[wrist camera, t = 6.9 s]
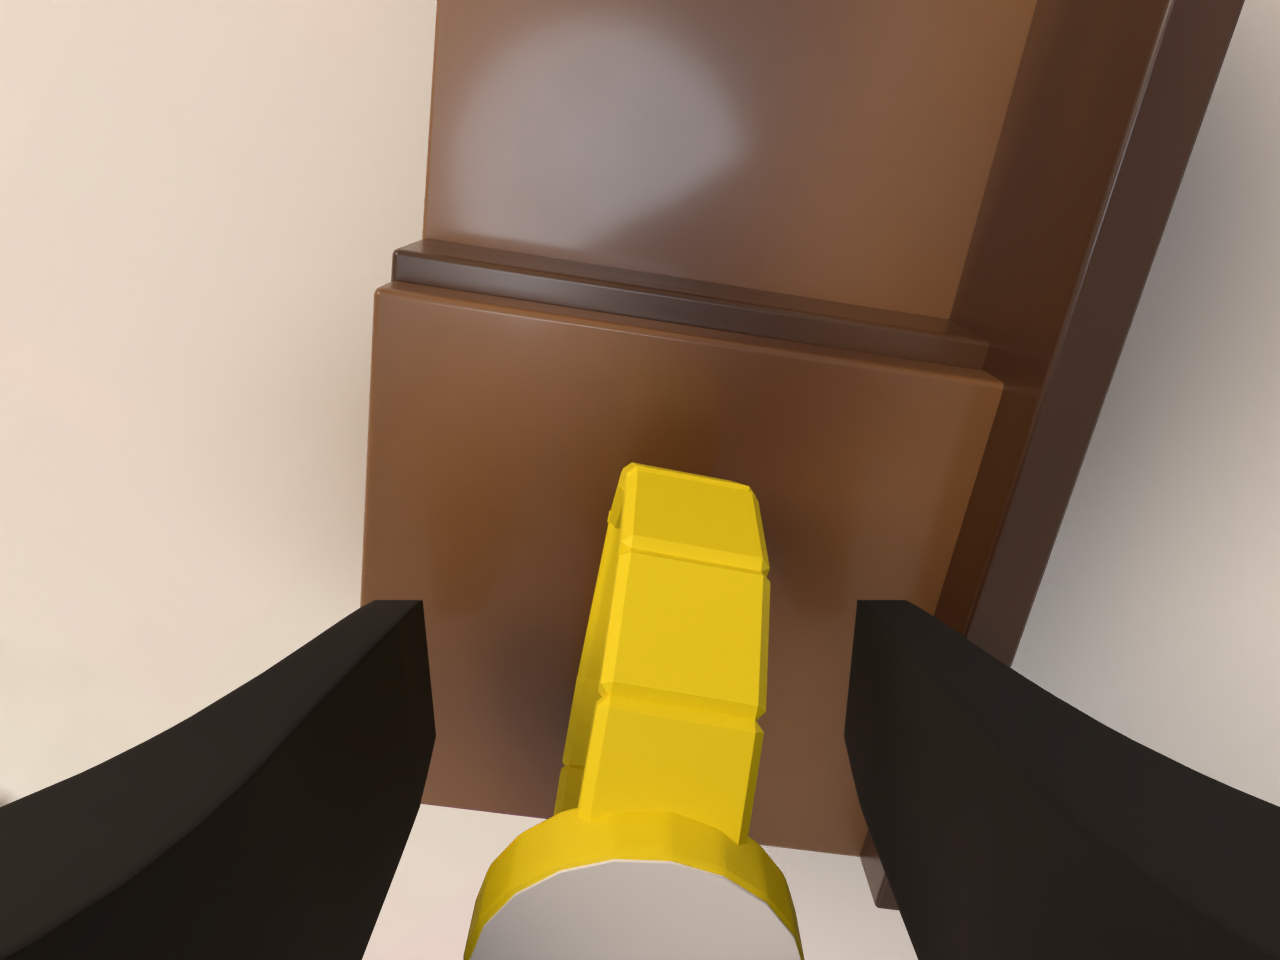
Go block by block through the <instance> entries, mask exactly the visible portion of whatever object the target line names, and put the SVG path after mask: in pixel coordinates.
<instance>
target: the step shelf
mask: <svg viewBox="0 0 1280 960" xmlns="http://www.w3.org/2000/svg"><path fill="white" fill-rule="evenodd" d="M1244 1H1245V0H437V11H436V28H435V44H434V60H433V76H432V92H431V108H430V124H429V140H428V156H427V172H426V189H425V205H424V221H423V237H422V240H420V241H417V242H415V243H412V244H409V245H407V246H404V247H401V248H399V249H396V250H394V252H393V256H392V275H391V282H389V283H387V284H385V285H383V286H381V287H379V288H377V289H376V291H375V293H374V309H373V331H372V354H371V376H370V399H369V422H368V444H367V467H366V489H365V512H364V535H363V557H362V580H361V602H360V608H361V607H363V606H364V605H366V604H368V603H370V602H372V601H374V600H423V607H424V617H425V628H426V638H427V648H428V658H429V668H430V678H431V688H432V698H433V709H434V719H435V729H436V739H435V744H434V748H433V753H432V757H431V762H430V766H429V771H428V775H427V779H426V783H425V787H424V791H423V796H422V800H421V804H428V805H436V806H444V807H452V808H461V809H469V810H477V811H486V812H494V813H502V814H510V815H519V816H527V817H535V818H543V819H549V818H551V817H553V816H554V809H555V803H556V797H557V790H558V784H559V778H560V772H561V768H563V767H564V766H565V765H564V764H563V762H562V760H563V754H564V748H565V742H566V737H567V731H568V725H569V719H570V714H571V708H572V702H573V697H574V691H575V685H576V679H577V675H578V670H579V665H580V661H581V656H582V651H583V646H584V641H585V636H586V631H587V626H588V621H589V616H590V611H591V607H592V602H593V597H594V592H595V587H596V582H597V577H598V572H599V567H600V562H601V557H602V553H603V548H604V543H605V538H606V533H607V528H608V523H609V522H607V521H608V515H609V510H611V507H612V504H613V500H614V497H615V493H616V489H617V486H618V482H619V479H620V475H621V472H622V470H623V468H624V467H626V466H627V465H629V464H630V463H632V462H633V463H638V464H643V465H649V466H654V467H660V468H665V469H670V470H676V471H681V472H687V473H692V474H697V475H703V476H708V477H713V478H719V479H724V480H730V481H733V482H737V483H740V484H743V485H747V486H749V487H750V488H751V490H752V491H753V493H754V494H755V496H756V499H757V500H758V502H759V508H760V514H761V520H762V526H763V531H764V537H765V543H766V549H767V555H768V560H769V566H770V569H769V572H768V575H767V579H768V580H769V581H770V610H769V640H768V669H767V698H766V712H765V713H764V714H763V716H762V717H761V718H760V719H759V720H757V721H756V722H757V723H758V725H759V726H760V727H761V729H762V730H763V732H764V736H763V743H762V749H761V756H760V762H759V769H758V775H757V782H756V788H755V795H754V802H753V808H752V815H751V821H750V828H749V834H748V836H749V837H750V838H752V839H753V840H755V841H756V842H757V843H758V844H759V845H766V846H775V847H783V848H791V849H799V850H808V851H816V852H824V853H832V854H841V855H849V856H857V857H860V859H861V862H862V865H863V868H864V871H865V874H866V878H867V881H868V884H869V887H870V890H871V893H872V897H873V900H874V903H875V905H876V907H878V908H884V909H892V910H899V908H898V905H897V903H896V900H895V898H894V895H893V892H892V890H891V887H890V885H889V882H888V879H887V877H886V874H885V872H884V869H883V866H882V864H881V861H880V858H879V856H878V853H877V850H876V848H875V845H874V843H873V840H872V837H871V835H870V832H869V829H868V827H867V824H866V821H865V818H864V816H863V813H862V810H861V807H860V804H859V799H858V795H857V791H856V787H855V783H854V779H853V775H852V771H851V766H850V762H849V757H848V753H847V748H846V744H845V739H844V729H845V719H846V709H847V699H848V688H849V678H850V668H851V658H852V648H853V638H854V628H855V618H856V608H857V600H907V601H909V602H911V603H913V604H914V605H916V606H918V607H920V608H921V609H923V610H924V611H926V612H928V613H929V614H931V615H932V616H934V617H935V618H937V619H938V620H940V621H941V622H943V623H944V624H946V625H947V626H949V627H950V628H952V629H953V630H955V631H956V632H958V633H959V634H961V635H962V636H963V637H965V638H966V639H968V640H969V641H971V642H972V643H974V644H975V645H977V646H978V647H980V648H981V649H983V650H984V651H986V652H987V653H989V654H990V655H992V656H993V657H995V658H996V659H998V660H999V661H1001V662H1002V663H1004V664H1005V665H1007V666H1008V667H1010V668H1011V665H1012V662H1013V659H1014V657H1015V654H1016V651H1017V648H1018V645H1019V642H1020V639H1021V637H1022V634H1023V631H1024V628H1025V625H1026V622H1027V620H1028V617H1029V614H1030V611H1031V608H1032V605H1033V602H1034V600H1035V597H1036V594H1037V591H1038V588H1039V585H1040V582H1041V580H1042V577H1043V574H1044V571H1045V568H1046V565H1047V562H1048V560H1049V557H1050V554H1051V551H1052V548H1053V545H1054V543H1055V540H1056V537H1057V534H1058V531H1059V528H1060V525H1061V523H1062V520H1063V517H1064V514H1065V511H1066V508H1067V505H1068V503H1069V500H1070V497H1071V494H1072V491H1073V488H1074V486H1075V483H1076V480H1077V477H1078V474H1079V471H1080V468H1081V466H1082V463H1083V460H1084V457H1085V454H1086V451H1087V448H1088V446H1089V443H1090V440H1091V437H1092V434H1093V431H1094V429H1095V426H1096V423H1097V420H1098V417H1099V414H1100V411H1101V409H1102V406H1103V403H1104V400H1105V397H1106V394H1107V391H1108V389H1109V386H1110V383H1111V380H1112V377H1113V374H1114V371H1115V369H1116V366H1117V363H1118V360H1119V357H1120V354H1121V352H1122V349H1123V346H1124V343H1125V340H1126V337H1127V334H1128V332H1129V329H1130V326H1131V323H1132V320H1133V317H1134V314H1135V312H1136V309H1137V306H1138V303H1139V300H1140V297H1141V295H1142V292H1143V289H1144V286H1145V283H1146V280H1147V277H1148V275H1149V272H1150V269H1151V266H1152V263H1153V260H1154V257H1155V255H1156V252H1157V249H1158V246H1159V243H1160V240H1161V237H1162V235H1163V232H1164V229H1165V226H1166V223H1167V220H1168V218H1169V215H1170V212H1171V209H1172V206H1173V203H1174V200H1175V198H1176V195H1177V192H1178V189H1179V186H1180V183H1181V180H1182V178H1183V175H1184V172H1185V169H1186V166H1187V163H1188V161H1189V158H1190V155H1191V152H1192V149H1193V146H1194V143H1195V141H1196V138H1197V135H1198V132H1199V129H1200V126H1201V123H1202V121H1203V118H1204V115H1205V112H1206V109H1207V106H1208V103H1209V101H1210V98H1211V95H1212V92H1213V89H1214V86H1215V84H1216V81H1217V78H1218V75H1219V72H1220V69H1221V66H1222V64H1223V61H1224V58H1225V55H1226V52H1227V49H1228V46H1229V44H1230V41H1231V38H1232V35H1233V32H1234V29H1235V27H1236V24H1237V21H1238V18H1239V15H1240V12H1241V9H1242V7H1243V4H1244Z"/></svg>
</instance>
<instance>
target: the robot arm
mask: <svg viewBox="0 0 1280 960" xmlns="http://www.w3.org/2000/svg"><path fill="white" fill-rule="evenodd" d="M435 739H436V729H435V719H434V709H433V698H432V688H431V678H430V668H429V658H428V648H427V638H426V628H425V617H424V607H423V600H374V601H372V602H370V603H368V604H366V605H364V606H363V607H361V608H359V609H358V610H356V611H355V612H353V613H351V614H350V615H348V616H347V617H345V618H344V619H342V620H341V621H339V622H338V623H336V624H335V625H333V626H332V627H330V628H329V629H327V630H326V631H324V632H323V633H322V634H320V635H319V636H317V637H316V638H314V639H313V640H311V641H310V642H308V643H307V644H305V645H304V646H302V647H301V648H299V649H298V650H296V651H295V652H293V653H292V654H290V655H289V656H287V657H286V658H284V659H283V660H281V661H280V662H278V663H277V664H275V665H274V666H272V667H271V668H269V669H268V670H266V671H265V672H263V673H262V674H260V675H259V676H257V677H255V678H254V679H252V680H250V681H249V682H247V683H245V684H244V685H242V686H240V687H239V688H237V689H236V690H234V691H232V692H231V693H229V694H227V695H226V696H224V697H222V698H221V699H219V700H218V701H216V702H214V703H213V704H211V705H209V706H208V707H206V708H204V709H203V710H201V711H199V712H198V713H196V714H195V715H193V716H191V717H189V718H188V719H186V720H184V721H182V722H181V723H179V724H177V725H175V726H173V727H172V728H170V729H168V730H166V731H164V732H162V733H160V734H159V735H157V736H155V737H153V738H151V739H149V740H147V741H145V742H143V743H141V744H139V745H137V746H135V747H133V748H131V749H129V750H127V751H125V752H123V753H121V754H119V755H117V756H115V757H113V758H111V759H109V760H107V761H105V762H103V763H101V764H99V765H97V766H95V767H93V768H91V769H88V770H86V771H84V772H82V773H80V774H78V775H75V776H73V777H71V778H68V779H66V780H64V781H61V782H59V783H56V784H54V785H52V786H49V787H47V788H45V789H42V790H40V791H38V792H35V793H33V794H31V795H28V796H26V797H24V798H21V799H19V800H16V801H14V802H12V803H9V804H7V805H5V806H2V807H0V960H362V958H363V955H364V952H365V950H366V947H367V945H368V942H369V939H370V937H371V934H372V932H373V929H374V926H375V924H376V921H377V918H378V916H379V913H380V911H381V908H382V905H383V903H384V900H385V898H386V895H387V892H388V890H389V887H390V885H391V882H392V879H393V877H394V874H395V872H396V869H397V866H398V864H399V861H400V859H401V856H402V853H403V851H404V848H405V845H406V843H407V840H408V837H409V835H410V832H411V829H412V827H413V824H414V821H415V818H416V816H417V813H418V810H419V807H420V804H421V800H422V796H423V791H424V787H425V783H426V779H427V775H428V771H429V766H430V762H431V757H432V753H433V748H434V744H435ZM844 739H845V744H846V748H847V753H848V757H849V762H850V766H851V771H852V775H853V779H854V783H855V787H856V791H857V795H858V799H859V804H860V807H861V810H862V813H863V816H864V818H865V821H866V824H867V827H868V829H869V832H870V835H871V837H872V840H873V843H874V845H875V848H876V850H877V853H878V856H879V858H880V861H881V864H882V866H883V869H884V872H885V874H886V877H887V879H888V882H889V885H890V887H891V890H892V892H893V895H894V898H895V900H896V903H897V905H898V908H899V911H900V913H901V916H902V918H903V921H904V924H905V926H906V929H907V931H908V934H909V937H910V939H911V942H912V944H913V947H914V950H915V952H916V955H917V957H918V960H1280V807H1278V806H1276V805H1274V804H1271V803H1269V802H1266V801H1264V800H1261V799H1259V798H1256V797H1254V796H1252V795H1249V794H1247V793H1244V792H1242V791H1239V790H1237V789H1235V788H1232V787H1230V786H1228V785H1226V784H1223V783H1221V782H1219V781H1217V780H1214V779H1212V778H1210V777H1208V776H1205V775H1203V774H1201V773H1199V772H1197V771H1194V770H1192V769H1190V768H1188V767H1186V766H1184V765H1182V764H1180V763H1178V762H1176V761H1174V760H1172V759H1170V758H1168V757H1166V756H1164V755H1162V754H1160V753H1158V752H1156V751H1154V750H1152V749H1150V748H1148V747H1146V746H1144V745H1142V744H1140V743H1138V742H1136V741H1134V740H1132V739H1130V738H1128V737H1126V736H1124V735H1122V734H1120V733H1119V732H1117V731H1115V730H1113V729H1111V728H1109V727H1107V726H1106V725H1104V724H1102V723H1100V722H1098V721H1097V720H1095V719H1093V718H1092V717H1090V716H1088V715H1086V714H1085V713H1083V712H1081V711H1080V710H1078V709H1076V708H1074V707H1073V706H1071V705H1069V704H1068V703H1066V702H1064V701H1062V700H1061V699H1059V698H1057V697H1056V696H1054V695H1052V694H1051V693H1049V692H1048V691H1046V690H1044V689H1043V688H1041V687H1040V686H1038V685H1036V684H1035V683H1033V682H1031V681H1030V680H1028V679H1027V678H1025V677H1024V676H1022V675H1021V674H1019V673H1017V672H1016V671H1014V670H1013V669H1011V668H1010V667H1008V666H1007V665H1005V664H1004V663H1002V662H1001V661H999V660H998V659H996V658H995V657H993V656H992V655H990V654H989V653H987V652H986V651H984V650H983V649H981V648H980V647H978V646H977V645H975V644H974V643H972V642H971V641H969V640H968V639H966V638H965V637H963V636H962V635H961V634H959V633H958V632H956V631H955V630H953V629H952V628H950V627H949V626H947V625H946V624H944V623H943V622H941V621H940V620H938V619H937V618H935V617H934V616H932V615H931V614H929V613H928V612H926V611H924V610H923V609H921V608H920V607H918V606H916V605H914V604H913V603H911V602H909V601H907V600H857V608H856V618H855V628H854V638H853V648H852V658H851V668H850V678H849V688H848V699H847V709H846V719H845V729H844Z"/></svg>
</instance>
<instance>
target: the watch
mask: <svg viewBox="0 0 1280 960" xmlns="http://www.w3.org/2000/svg"><path fill="white" fill-rule="evenodd" d="M607 522H609V523H608V528H607V533H606V538H605V543H604V548H603V553H602V557H601V562H600V567H599V572H598V577H597V582H596V587H595V592H594V597H593V602H592V607H591V611H590V616H589V621H588V626H587V631H586V636H585V641H584V646H583V651H582V656H581V661H580V665H579V670H578V675H577V679H576V685H575V691H574V697H573V702H572V708H571V714H570V719H569V725H568V731H567V737H566V742H565V748H564V754H563V760H562V762H563V764H564V765H565V766H564V767H563V768H561V772H560V778H559V784H558V790H557V797H556V803H555V809H554V816H553V817H551V818H549V819H547V820H545V821H543V822H541V823H539V824H538V825H536V826H534V827H532V828H530V829H528V830H526V831H525V832H523V833H521V834H520V835H519V836H518V837H517V838H516V839H515V840H514V841H513V842H512V843H511V844H510V845H509V846H508V847H507V848H506V849H505V850H504V851H503V852H502V853H501V854H500V855H499V856H498V857H497V858H496V859H495V860H494V862H493V863H492V864H491V866H490V867H489V869H488V871H487V874H486V876H485V879H484V881H483V884H482V886H481V889H480V891H479V894H478V896H477V899H476V902H475V906H474V911H473V915H472V920H471V924H470V929H469V933H468V938H467V943H466V947H465V952H464V960H804V955H803V950H802V944H801V939H800V934H799V928H798V923H797V917H796V912H795V908H794V905H793V901H792V898H791V895H790V891H789V888H788V884H787V881H786V879H785V877H784V875H783V873H782V872H781V870H780V869H779V868H778V867H777V865H776V864H775V863H774V862H773V861H772V859H771V858H770V857H769V856H768V854H767V853H766V852H765V851H764V849H763V848H762V847H761V846H760V845H759V844H758V843H757V842H756V841H755V840H753V839H752V838H750V837H749V836H748V834H749V828H750V821H751V815H752V808H753V802H754V795H755V788H756V782H757V775H758V769H759V762H760V756H761V749H762V743H763V736H764V732H763V730H762V729H761V727H760V726H759V725H758V723H757V722H756V721H757V720H759V719H760V718H761V717H762V716H763V714H764V713H765V712H766V698H767V669H768V640H769V610H770V581H769V580H768V579H767V575H768V572H769V569H770V566H769V560H768V555H767V549H766V543H765V537H764V531H763V526H762V520H761V514H760V508H759V502H758V500H757V499H756V496H755V494H754V493H753V491H752V490H751V488H750V487H749V486H747V485H743V484H740V483H737V482H733V481H730V480H724V479H719V478H713V477H708V476H703V475H697V474H692V473H687V472H681V471H676V470H670V469H665V468H660V467H654V466H649V465H643V464H638V463H633V462H632V463H630V464H629V465H627V466H626V467H624V468H623V470H622V472H621V475H620V479H619V482H618V486H617V489H616V493H615V497H614V500H613V504H612V507H611V510H609V515H608V521H607Z"/></svg>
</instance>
